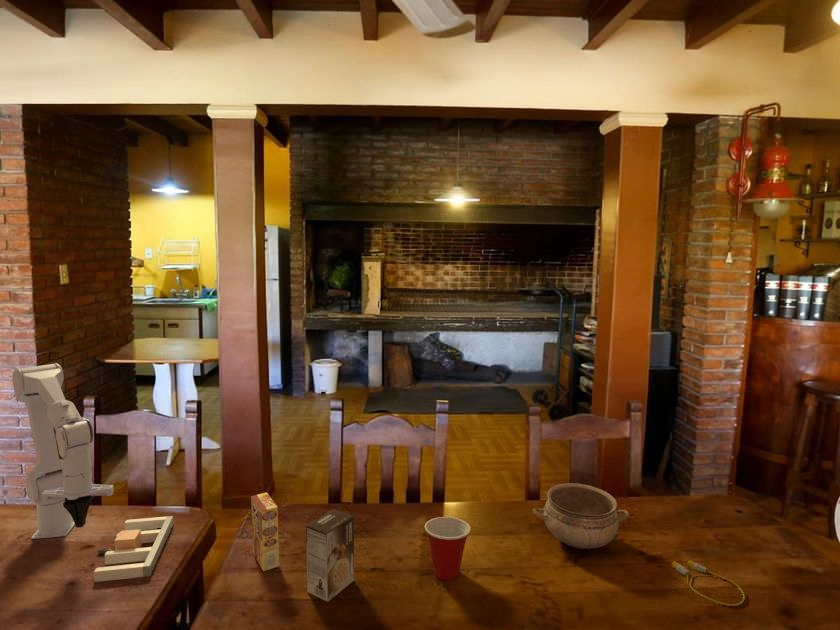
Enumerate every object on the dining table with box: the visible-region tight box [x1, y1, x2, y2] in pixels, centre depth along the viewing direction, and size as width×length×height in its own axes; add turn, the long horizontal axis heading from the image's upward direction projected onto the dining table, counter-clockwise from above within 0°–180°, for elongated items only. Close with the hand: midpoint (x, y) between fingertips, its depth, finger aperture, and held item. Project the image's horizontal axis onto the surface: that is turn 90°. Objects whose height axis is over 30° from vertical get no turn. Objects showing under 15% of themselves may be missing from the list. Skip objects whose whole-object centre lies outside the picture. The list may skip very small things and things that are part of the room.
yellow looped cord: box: [671, 559, 746, 607], centre depth 122 cm, size 12×16×2 cm
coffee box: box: [305, 508, 355, 603], centre depth 118 cm, size 9×6×16 cm
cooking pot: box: [532, 482, 630, 550], centre depth 138 cm, size 25×19×12 cm
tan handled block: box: [97, 529, 142, 555], centre depth 130 cm, size 4×9×4 cm, turn 101°
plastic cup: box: [423, 516, 471, 581], centre depth 124 cm, size 11×11×12 cm
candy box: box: [250, 492, 280, 572], centre depth 127 cm, size 9×4×15 cm, turn 33°
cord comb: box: [93, 515, 174, 583], centre depth 131 cm, size 23×12×2 cm, turn 13°
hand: (80, 525), depth 126 cm, fingers closed
